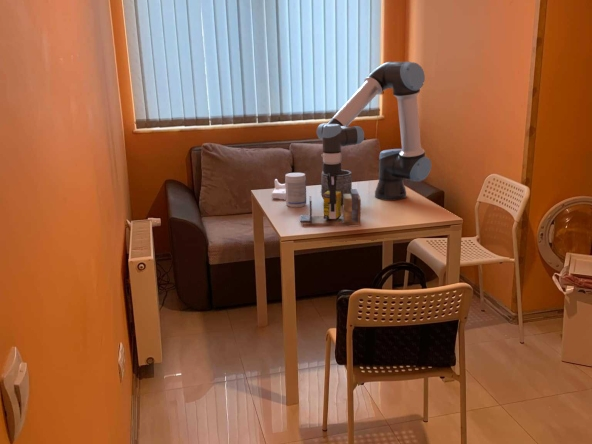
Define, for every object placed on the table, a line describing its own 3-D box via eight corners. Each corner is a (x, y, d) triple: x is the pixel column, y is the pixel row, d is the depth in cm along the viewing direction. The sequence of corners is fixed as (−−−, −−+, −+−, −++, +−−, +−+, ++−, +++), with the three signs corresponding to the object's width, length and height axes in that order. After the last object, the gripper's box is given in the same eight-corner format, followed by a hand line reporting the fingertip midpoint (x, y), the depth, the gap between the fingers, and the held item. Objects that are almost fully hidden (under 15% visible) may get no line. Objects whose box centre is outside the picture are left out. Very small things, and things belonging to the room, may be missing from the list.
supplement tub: (310, 205, 276) (309, 174, 272) (293, 209, 271) (292, 177, 267) (298, 201, 284) (298, 171, 279) (282, 204, 279) (281, 174, 274)
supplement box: (323, 219, 248) (323, 193, 245) (327, 215, 253) (327, 190, 250) (337, 220, 246) (336, 194, 243) (341, 216, 251) (341, 191, 248)
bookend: (311, 216, 254) (311, 195, 251) (311, 221, 246) (311, 200, 243) (300, 216, 254) (300, 196, 251) (300, 221, 246) (299, 201, 244)
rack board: (358, 217, 255) (358, 188, 251) (360, 225, 245) (360, 194, 241) (302, 218, 256) (302, 189, 252) (302, 226, 245) (301, 195, 241)
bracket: (275, 193, 300) (275, 179, 298) (289, 193, 300) (289, 179, 297) (272, 200, 288) (271, 185, 286) (286, 200, 287) (286, 185, 285)
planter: (323, 199, 287) (323, 168, 283) (353, 200, 284) (353, 169, 280) (319, 206, 274) (318, 175, 269) (349, 207, 271) (349, 176, 266)
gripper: (322, 157, 252) (322, 209, 259) (323, 167, 233) (324, 223, 240) (339, 157, 252) (339, 209, 259) (342, 167, 233) (342, 222, 240)
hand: (332, 215), depth 249 cm, fingers closed on supplement box, 7 cm apart
